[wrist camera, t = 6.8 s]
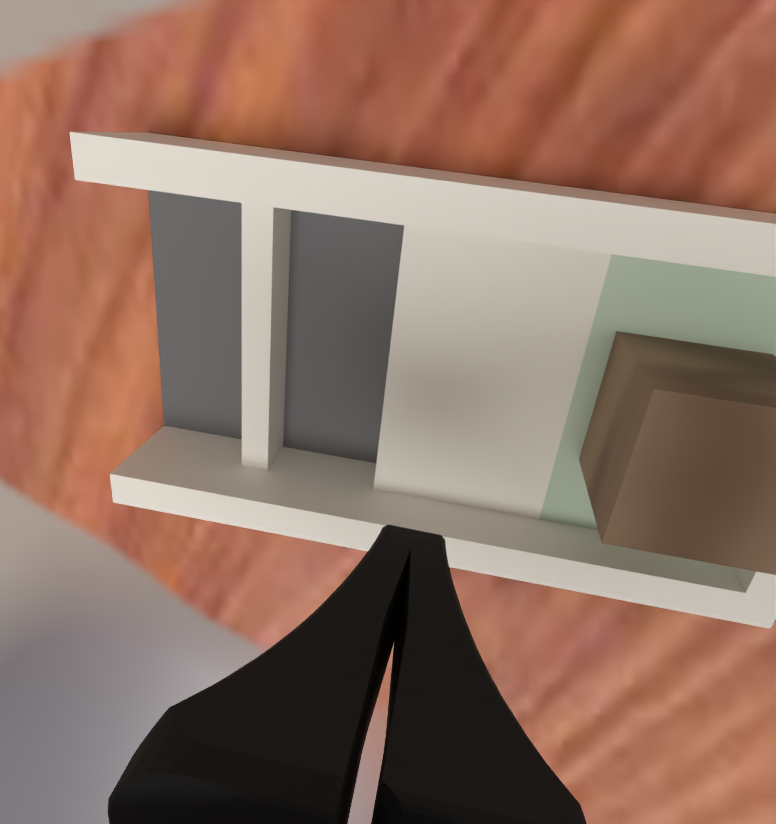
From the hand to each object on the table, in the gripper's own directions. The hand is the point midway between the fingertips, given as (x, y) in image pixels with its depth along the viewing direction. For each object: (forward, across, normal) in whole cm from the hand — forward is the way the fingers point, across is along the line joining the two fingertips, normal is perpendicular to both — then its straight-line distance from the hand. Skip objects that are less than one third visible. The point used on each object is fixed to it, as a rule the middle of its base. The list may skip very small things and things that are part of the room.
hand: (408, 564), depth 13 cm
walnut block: (+7, -7, -2) cm, 10 cm away
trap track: (+9, 0, -2) cm, 10 cm away
